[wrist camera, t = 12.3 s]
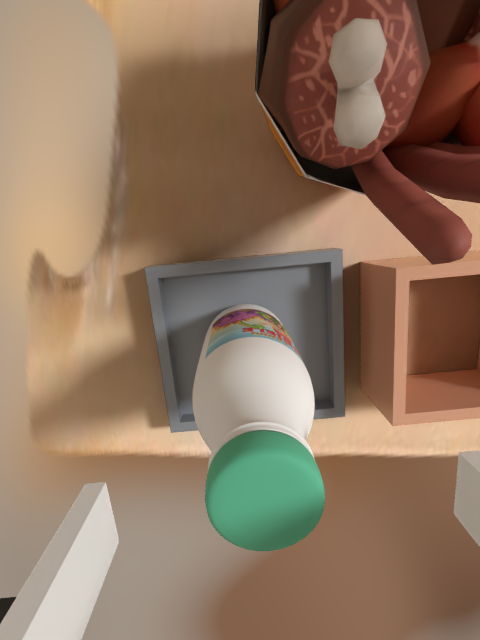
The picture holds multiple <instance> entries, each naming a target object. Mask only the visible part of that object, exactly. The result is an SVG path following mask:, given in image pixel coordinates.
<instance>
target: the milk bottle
mask: <svg viewBox="0 0 480 640" xmlns="http://www.w3.org/2000/svg"><path fill="white" fill-rule="evenodd" d="M192 400H193V412H194V417H195V422H196V425H197V427H198V430H199V432H200V434H201V436H202V438H203V440H204V441H205V443H206V445H207V446H208V447H209V449H210V450H211V451H212V453H211V455H210V458H209V463H208V474H207V480H206V491H205V493H206V494H205V503H206V508H207V513H208V516H209V519H210V521H211V523H212V525H213V527H214V528H215V529H216V531H217V532H218V533H219V534H220V535H221V536H222V537H223V538H225V539H226V540H228V541H229V542H231V543H232V544H234V545H236V546H239V547H242V548H245V549H248V550H255V551H272V550H278V549H282V548H286V547H288V546H291V545H293V544H295V543H297V542H299V541H300V540H302V539H303V538H305V537H306V536H307V535H308V534H309V533H310V532H311V531H312V530H313V529H314V528H315V526H316V525H317V524H318V522H319V520H320V518H321V516H322V513H323V510H324V504H325V490H324V485H323V481H322V478H321V474H320V471H319V469H318V466H317V464H316V462H315V460H314V456H313V453H312V450H311V448H310V446H309V445H308V443H307V442H306V439H307V437H308V435H309V432H310V429H311V426H312V422H313V417H314V409H315V402H314V391H313V387H312V382H311V379H310V376H309V374H308V371H307V369H306V367H305V364H304V362H303V360H302V358H301V356H300V354H299V353H298V351H297V349H296V347H295V345H294V343H293V342H292V340H291V338H290V336H289V335H288V333H287V331H286V329H285V328H284V326H283V324H282V323H281V321H280V320H279V319H278V318H277V317H276V315H274V314H273V313H272V312H271V311H269V310H268V309H266V308H264V307H261V306H258V305H254V304H240V305H235V306H232V307H230V308H228V309H226V310H224V311H223V312H221V313H220V314H219V315H218V316H217V317H216V318H215V319H214V320H213V321H212V323H211V325H210V327H209V329H208V331H207V334H206V337H205V340H204V344H203V348H202V351H201V355H200V359H199V363H198V366H197V370H196V375H195V380H194V386H193V397H192Z"/></svg>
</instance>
